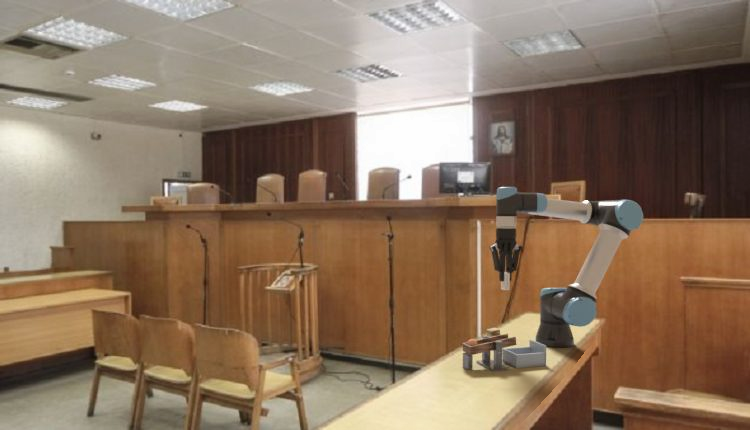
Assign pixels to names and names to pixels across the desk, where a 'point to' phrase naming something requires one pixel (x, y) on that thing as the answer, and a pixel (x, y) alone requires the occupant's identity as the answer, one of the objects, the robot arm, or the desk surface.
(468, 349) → the lever
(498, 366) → the fulcrum
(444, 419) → the desk surface
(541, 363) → the bin
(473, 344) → the ball
